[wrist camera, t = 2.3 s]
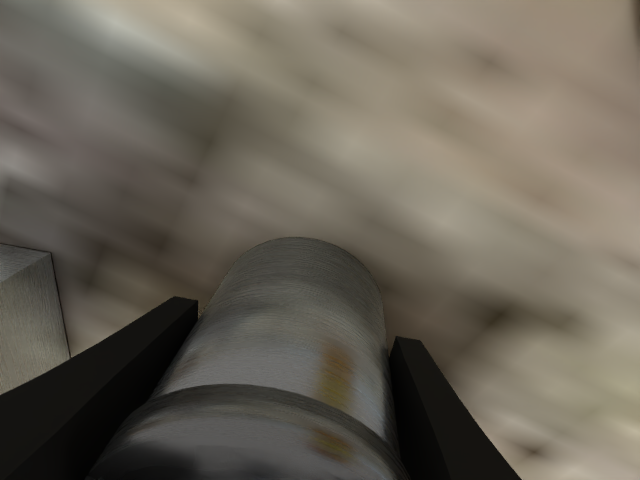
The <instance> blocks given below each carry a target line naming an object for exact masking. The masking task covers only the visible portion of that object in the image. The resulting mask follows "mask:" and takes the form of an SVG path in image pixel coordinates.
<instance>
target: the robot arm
mask: <svg viewBox="0 0 640 480" xmlns="http://www.w3.org/2000/svg"><path fill="white" fill-rule="evenodd" d="M197 321H198V300H192V299H187V298H181V297H175V296H174V297H172V298H171V299H169V300H167V301H166V302H164V303H162V304H161V305H159V306H158V307H156V308H154V309H153V310H151V311H150V312H148V313H147V314H145V315H143V316H142V317H140V318H139V319H137V320H135V321H134V322H132V323H131V324H129V325H127V326H126V327H124V328H122V329H121V330H119V331H117V332H116V333H114V334H112V335H111V336H109V337H108V338H106V339H104V340H103V341H101V342H99V343H98V344H96V345H94V346H92V347H90V348H89V349H87V350H85V351H83V352H81V353H80V354H78V355H76V356H74V357H72V358H71V359H69V360H67V361H65V362H63V363H62V364H60V365H58V366H56V367H54V368H53V369H51V370H49V371H47V372H45V373H43V374H41V375H40V376H38V377H36V378H34V379H32V380H30V381H28V382H26V383H24V384H22V385H20V386H18V387H16V388H14V389H12V390H9V391H7V392H5V393H3V394H1V395H0V480H84V479H85V478H86V476H87V475H88V473H89V472H90V470H91V469H92V467H93V466H94V464H95V463H96V461H97V460H98V458H99V457H100V455H101V454H102V452H103V451H104V449H105V448H106V446H107V445H108V443H109V442H110V440H111V439H112V437H113V436H114V434H115V433H116V431H117V430H118V428H119V427H120V425H121V424H122V422H123V421H124V420H125V419H126V418H127V417H128V416H129V415H130V414H131V413H132V412H133V411H135V410H136V409H138V408H139V407H141V406H142V405H144V404H145V403H146V402H147V400H148V398H149V397H150V395H151V394H152V392H153V390H154V389H155V387H156V386H157V384H158V383H159V381H160V379H161V378H162V376H163V375H164V373H165V371H166V370H167V368H168V367H169V365H170V364H171V362H172V360H173V359H174V357H175V356H176V354H177V352H178V351H179V349H180V348H181V346H182V344H183V343H184V341H185V340H186V338H187V337H188V335H189V333H190V332H191V330H192V329H193V327H194V325H195V324H196V322H197ZM389 364H390V373H391V381H392V390H393V398H394V407H395V415H396V424H397V433H398V441H399V450H400V458H401V461H402V462H403V464H404V466H405V468H406V470H407V471H408V473H409V475H410V478H411V480H522V479H521V478H520V477H519V476H518V475H517V473H516V472H515V471H514V470H513V469H512V468H511V466H510V465H509V464H508V463H507V461H506V460H505V459H504V458H503V456H502V455H501V454H500V453H499V451H498V450H497V449H496V447H495V446H494V445H493V444H492V442H491V441H490V440H489V439H488V437H487V436H486V435H485V433H484V432H483V431H482V429H481V428H480V427H479V425H478V424H477V423H476V421H475V420H474V419H473V417H472V416H471V414H470V413H469V412H468V410H467V409H466V407H465V406H464V405H463V403H462V402H461V400H460V399H459V398H458V396H457V395H456V393H455V392H454V390H453V389H452V387H451V386H450V384H449V383H448V381H447V380H446V378H445V377H444V375H443V374H442V372H441V371H440V369H439V368H438V366H437V365H436V363H435V362H434V360H433V359H432V357H431V356H430V354H429V353H428V351H427V350H426V348H425V347H424V345H423V344H422V342H421V341H420V340H415V339H409V338H404V337H398V336H396V338H395V341H394V344H393V348H392V351H391V354H390V357H389Z"/></svg>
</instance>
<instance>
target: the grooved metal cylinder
mask: <svg viewBox="0 0 640 480" xmlns="http://www.w3.org/2000/svg"><path fill="white" fill-rule="evenodd" d="M84 480H411V478H410V475H409V473H408V471H407V470H406V468H405V466H404V464H403V462H402V461H401V458H400V450H399V441H398V433H397V424H396V415H395V407H394V398H393V390H392V381H391V373H390V364H389V356H388V347H387V339H386V330H385V322H384V313H383V305H382V298H381V295H380V291H379V288H378V286H377V284H376V282H375V280H374V279H373V277H372V276H371V274H370V272H369V271H368V270H367V269H366V268H365V267H364V266H363V264H362V263H360V262H359V261H358V260H357V259H356V258H355V257H353V256H352V255H350V254H349V253H347V252H346V251H344V250H342V249H340V248H339V247H337V246H335V245H332V244H329V243H326V242H324V241H320V240H315V239H310V238H301V237H289V238H281V239H275V240H272V241H268V242H265V243H263V244H260V245H258V246H256V247H254V248H252V249H250V250H249V251H247V252H246V253H245V254H243V255H242V256H241V257H240V258H239V259H238V260H237V261H236V262H235V263H234V264H233V266H232V267H231V269H230V270H229V272H228V273H227V275H226V276H225V278H224V279H223V281H222V283H221V284H220V286H219V287H218V289H217V291H216V292H215V294H214V295H213V297H212V298H211V300H210V302H209V303H208V305H207V306H206V308H205V310H204V311H203V313H202V314H201V316H200V318H199V319H198V321H197V322H196V324H195V325H194V327H193V329H192V330H191V332H190V333H189V335H188V337H187V338H186V340H185V341H184V343H183V344H182V346H181V348H180V349H179V351H178V352H177V354H176V356H175V357H174V359H173V360H172V362H171V364H170V365H169V367H168V368H167V370H166V371H165V373H164V375H163V376H162V378H161V379H160V381H159V383H158V384H157V386H156V387H155V389H154V390H153V392H152V394H151V395H150V397H149V398H148V400H147V402H146V403H145V404H144V405H142V406H141V407H139V408H138V409H136V410H135V411H133V412H132V413H131V414H130V415H129V416H128V417H127V418H126V419H125V420H124V421H123V422H122V424H121V425H120V427H119V428H118V430H117V431H116V433H115V434H114V436H113V437H112V439H111V440H110V442H109V443H108V445H107V446H106V448H105V449H104V451H103V452H102V454H101V455H100V457H99V458H98V460H97V461H96V463H95V464H94V466H93V467H92V469H91V470H90V472H89V473H88V475H87V476H86V478H85V479H84Z"/></svg>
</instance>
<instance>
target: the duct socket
mask: <svg viewBox="0 0 640 480" xmlns="http://www.w3.org/2000/svg"><path fill="white" fill-rule="evenodd" d="M69 359H70V355H69V350H68V345H67V339H66V334H65V329H64V324H63V318H62V313H61V308H60V302H59V297H58V292H57V286H56V281H55V276H54V271H53V265H52V260H51V255H50V253H48V252H42V251H37V250H31V249H26V248H20V247H14V246H9V245H3V244H0V395H1V394H3V393H5V392H7V391H9V390H12V389H14V388H16V387H18V386H20V385H22V384H24V383H26V382H28V381H30V380H32V379H34V378H36V377H38V376H40V375H41V374H43V373H45V372H47V371H49V370H51V369H53V368H54V367H56V366H58V365H60V364H62V363H63V362H65V361H67V360H69Z"/></svg>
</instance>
